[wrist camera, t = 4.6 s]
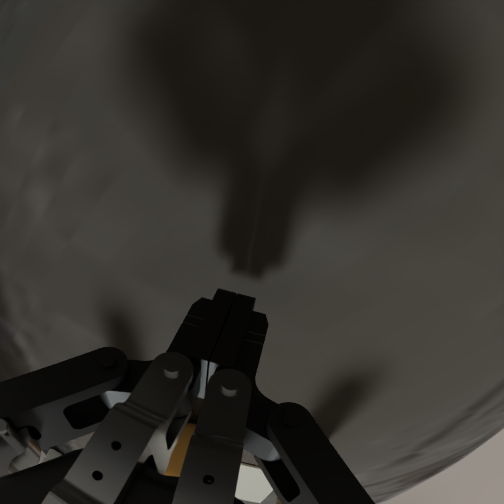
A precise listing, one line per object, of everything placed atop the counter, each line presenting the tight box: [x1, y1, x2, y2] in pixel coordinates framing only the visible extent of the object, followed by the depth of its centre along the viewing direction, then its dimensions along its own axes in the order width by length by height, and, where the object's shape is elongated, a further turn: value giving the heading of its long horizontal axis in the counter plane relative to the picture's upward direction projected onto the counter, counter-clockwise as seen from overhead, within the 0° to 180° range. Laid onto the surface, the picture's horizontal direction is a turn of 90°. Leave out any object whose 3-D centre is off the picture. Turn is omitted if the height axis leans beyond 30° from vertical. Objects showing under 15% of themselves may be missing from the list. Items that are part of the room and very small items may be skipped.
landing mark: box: [235, 463, 273, 503], centre depth 28 cm, size 14×14×1 cm
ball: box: [164, 423, 196, 477], centre depth 19 cm, size 6×6×6 cm
